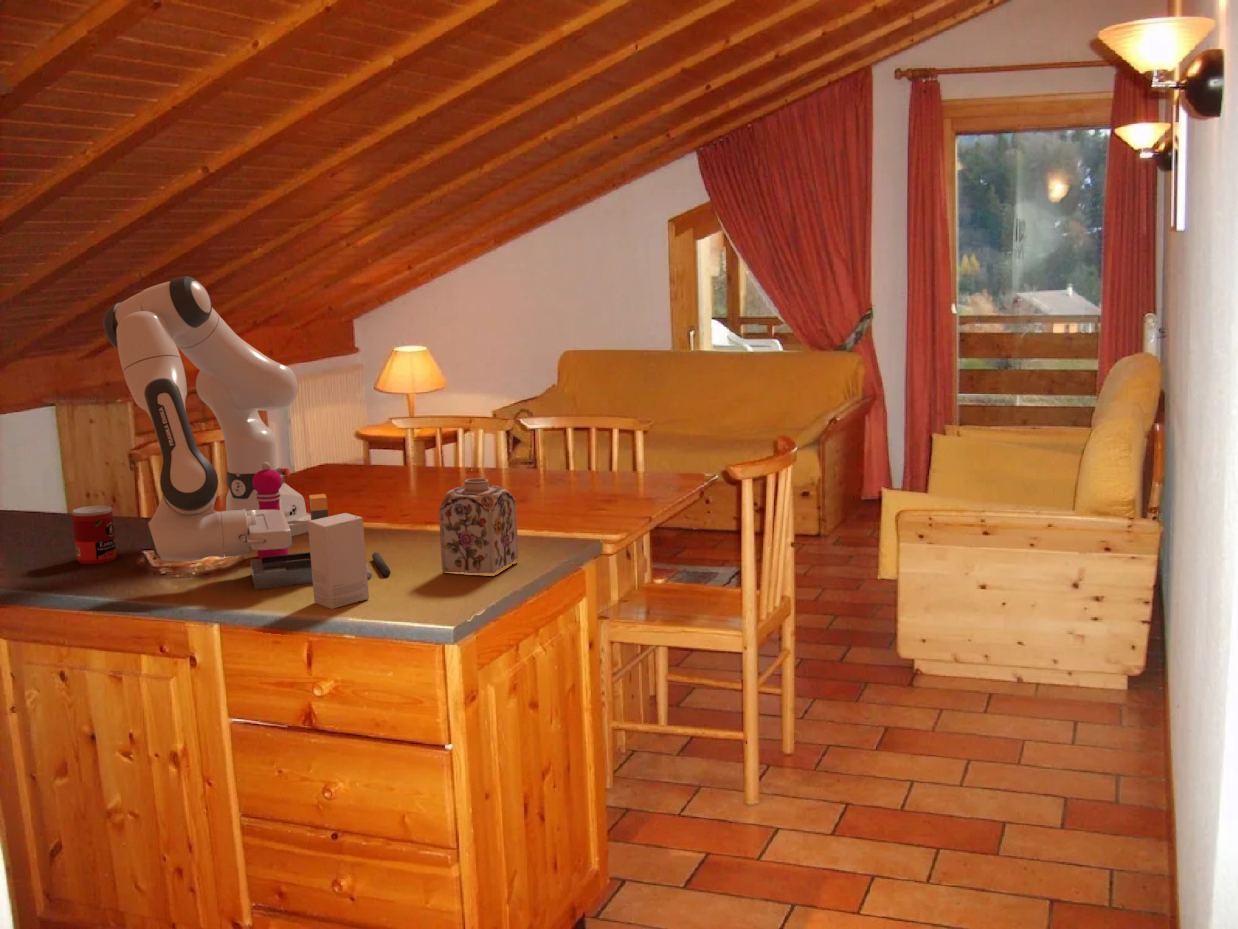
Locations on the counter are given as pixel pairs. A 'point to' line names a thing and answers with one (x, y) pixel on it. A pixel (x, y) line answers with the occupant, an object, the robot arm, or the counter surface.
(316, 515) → the lever
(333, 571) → the skincare box
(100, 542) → the canned food
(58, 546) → the counter surface
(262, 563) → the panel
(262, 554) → the pepper mill
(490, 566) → the decorative jar
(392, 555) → the counter surface
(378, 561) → the dark grey capsule
